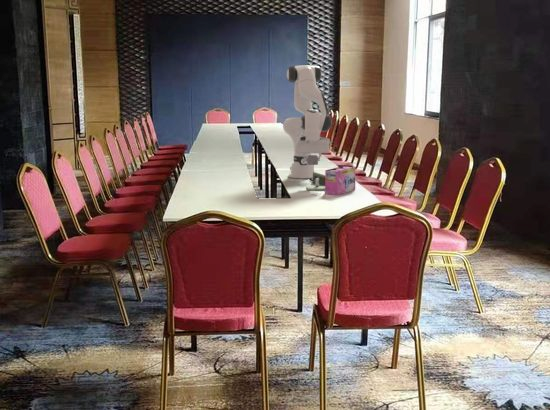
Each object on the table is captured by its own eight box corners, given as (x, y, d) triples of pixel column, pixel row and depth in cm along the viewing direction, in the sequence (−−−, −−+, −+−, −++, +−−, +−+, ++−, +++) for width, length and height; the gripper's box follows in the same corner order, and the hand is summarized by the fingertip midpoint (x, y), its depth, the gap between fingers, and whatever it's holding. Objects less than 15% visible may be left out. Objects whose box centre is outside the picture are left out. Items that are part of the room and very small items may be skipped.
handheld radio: (326, 188, 355) (307, 181, 377) (331, 187, 356) (312, 181, 379) (326, 176, 354) (308, 171, 376) (331, 176, 355) (312, 171, 378)
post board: (306, 188, 352) (306, 177, 351) (333, 188, 353) (333, 177, 352) (308, 190, 344) (308, 180, 343) (335, 190, 346) (336, 179, 344)
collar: (306, 163, 355) (306, 155, 354) (316, 163, 356) (316, 155, 355) (307, 164, 349) (307, 156, 348) (317, 164, 350) (317, 156, 349)
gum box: (344, 188, 354) (345, 165, 351) (356, 189, 350) (357, 166, 347) (324, 194, 335) (324, 170, 332) (336, 195, 330) (337, 171, 328)
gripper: (329, 136, 353) (328, 160, 356) (294, 137, 352) (294, 160, 354) (330, 137, 347) (330, 161, 350) (295, 137, 346) (295, 161, 348)
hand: (312, 160), depth 352 cm, fingers closed on collar, 6 cm apart
